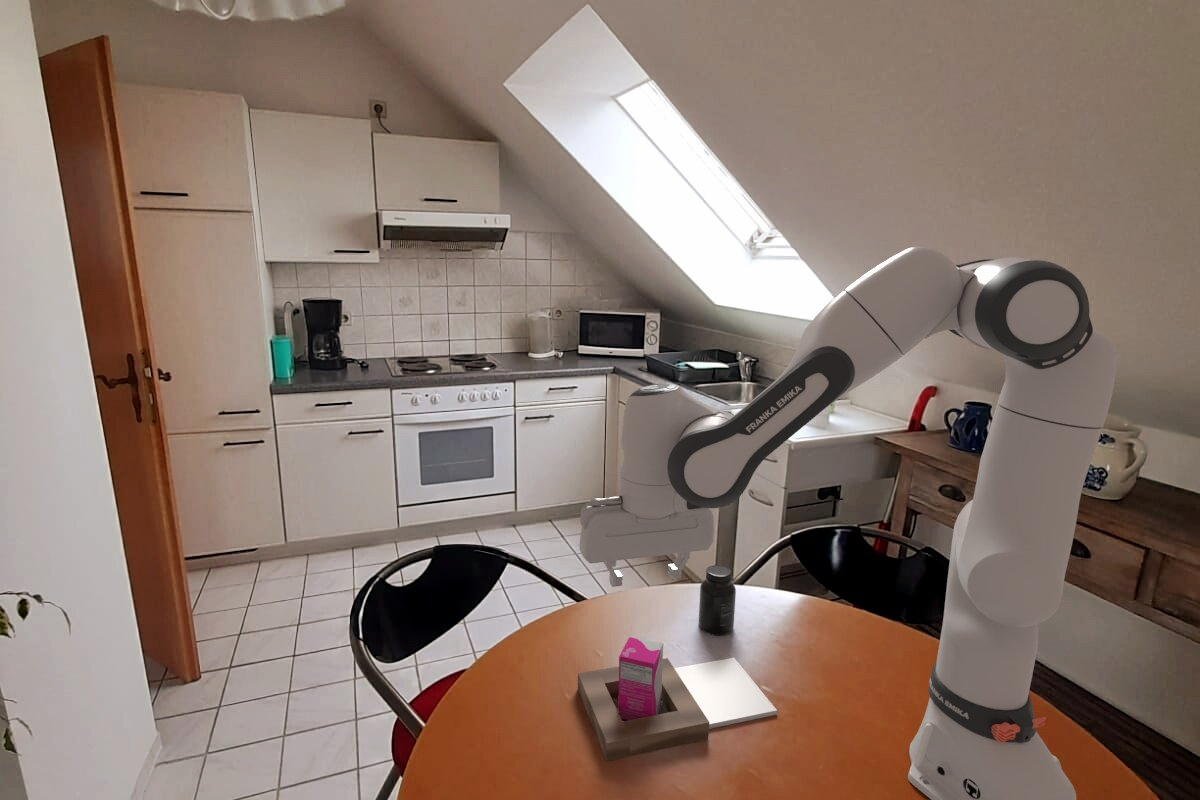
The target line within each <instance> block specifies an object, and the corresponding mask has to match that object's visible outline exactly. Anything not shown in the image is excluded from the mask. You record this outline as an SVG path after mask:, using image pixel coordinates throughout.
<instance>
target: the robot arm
mask: <svg viewBox="0 0 1200 800" xmlns="http://www.w3.org/2000/svg"><path fill="white" fill-rule="evenodd" d="M945 331H949V332H951V333H953V334H954V335H955V336H958V337H959V338H962V339H965V340H967V341H968V342H970V343H972V344H973V345H975V346H977V347H980V348H982V349H985V350H990V351H997V352H999V353H1000V354H1002V356H1003V358H1004V364H1005V374H1004V375H1005V376H1004V379H1005V380H1004V382H1003V385H1002V388H1001V391H1000V393H999V397H998V400H997V404H996V406H995V411H994V413H993V416H992V419H991V423H990V427H989V430H988V433H987V437H986V440H985V443H984V447H983V451H982V453H981V456H980V460H979V465H978V472H977V479H976V483H975V487H974V492H973V498H972V499H971V500H969V502H967V503H966V504H965V506H964V507H963V508H962V509H961V511H960V512H959V514H958V516H957V517H956V520H955V522H954V527H953V534H952V541H951V547H950V556H949V565H948V574H947V580H946V581H947V582H946V592H945V601H944V610H943V619H942V626H941V631H940V639H939V644H938V651H937V657H936V662H934V664H933V665H932V668H931V673H930V677H929V681H928V696H929V699H928V703H927V706H926V709H925V714H924V716H923V719H922V721H921V724H920V726H919V728H918V731H917V733H916V734H915V736H914V738H913V739H912V740H911V742H910V744H909V753H908V754H909V758H910V762H911V765H910V768H909V771H908V773H907V774H908V775H907V779H908V781H909V782H910V783H911V784H912V785H913V786H914V787H915V788H917V790H918V791H920V792H921V793H922V794H924V795H925V796H926V797H928V798H929V800H1077V793H1076V790H1075V788H1074V785H1073V784H1072V782H1071V781H1070V779H1069V778H1068V777H1067V774H1066V773H1065V772H1064V771H1063V769H1062V764H1061V762H1060V760H1059V758H1058V757H1057V756H1055V755H1053V754H1052V753H1051V751H1050V750H1049V749H1048V747H1047V746H1046V744H1045V742H1044V740H1043V739H1042V737H1040V734H1039V733H1038V732H1037V729H1038V728H1041V727H1043V726H1045V725H1046V722H1045V721H1046V720H1047V717H1046V716H1042V717H1038V718H1036V717H1035V714H1034V708H1033V705H1032V704H1033V703H1032V700H1031V696H1030V694H1029V693H1030V690H1031V689H1030V688H1031V683H1032V679H1033V673H1034V668H1035V662H1036V657H1037V653H1038V650H1039V648H1038V647H1039V624H1041V623H1044V622H1045V621H1047V620H1048V619H1050V618H1052V616H1054V614H1056V612H1057V611H1058V609H1059V608H1060V605H1061V603H1062V599H1063V592H1064V584H1065V577H1066V573H1067V568H1068V563H1069V560H1070V555H1071V550H1072V546H1073V541H1074V535H1075V530H1076V525H1077V519H1078V513H1079V507H1080V501H1081V496H1082V492H1083V487H1084V484H1085V480H1086V478H1087V474H1088V472H1089V469H1090V467H1091V463H1092V460H1093V457H1094V454H1095V452H1096V448H1097V446H1098V442H1099V440H1100V438H1101V434H1102V432H1103V428H1104V425H1105V423H1106V418H1107V416H1108V413H1109V409H1110V405H1111V401H1112V396H1113V391H1114V388H1115V383H1116V382H1115V381H1116V375H1117V374H1116V373H1117V362H1118V351H1117V347H1116V346H1115V343H1114V342H1113V341H1112V339H1110V338H1109V337H1108V336H1107V335H1105V334H1104V333H1102V332H1100V331H1099V330H1097V329H1094V328H1093V324H1092V320H1091V317H1090V302H1089V297H1088V294H1087V291H1086V288H1085V286H1084V285H1083V283H1082V282H1081V280H1080V279H1079V278H1078V277H1077V276H1076V275H1075V274H1074V273H1072V272H1071V271H1069V270H1068V269H1066V268H1065V267H1063V266H1061V265H1059V264H1056V263H1053V262H1050V261H1047V260H1039V259H1038V260H1036V259H1035V260H1034V259H1030V258H1026V257H1025V258H1024V257H1015V256H1013V257H1010V256H1009V257H1001V258H997V259H993V258H992V259H979V260H974V261H970V262H966V263H960V264H955V263H954V262H953V261H952V260H951V259H950V258H949V257H948V256H947V255H946V254H944V253H942V252H940V251H939V250H936V249H935V248H931V247H928V246H925V245H924V246H921V245H919V246H912V247H909V248H905V249H904V250H902V251H900V252H899V253H896V254H895V255H893V256H891V257H889V258H888V259H886V260H885V261H882V262H881V263H879V264H878V265H876V266H875V267H873V268H872V269H870V270H869V271H868V272H866V273H865V274H863V275H862V276H860V277H859V278H857V279H856V280H855V281H854V282H852V283H851V284H849V285H848V286H846V288H844V290H842V291H841V292H840V293H838V295H836V296H835V297H834V298H833V299H831V300H830V301H829V302H828V303H827V304H826V305H825V306H824V307H823V308H822V309H821V310H820V312H819V313H817V315H816V316H815V317H814V318H813V319H812V320H811V322H810V323H808V325H807V326H806V328H804V331H803V333H802V335H801V338H800V340H799V344H798V346H797V347H796V350H795V352H794V354H793V356H792V358H791V360H790V362H789V363H788V365H787V366H786V367H785V369H784V370H783V371H782V373H781V374H780V375H779V376H778V377H777V378H776V379H775V380H774V381H773V382H772V383H771V384H770V385H768V387H766V388H765V389H764V390H763V391H761V392H760V393H759V394H758V395H756V397H754V398H753V399H751V401H749V402H748V403H747V404H746V405H745V406H743V408H741V409H740V410H739V411H738V412H736V413H735V414H734V413H732V412H729V411H727V410H721V409H719V408H717V407H714V406H710V405H708V404H706V403H703V402H702V401H699V400H698V399H696V398H694V397H693V396H692V395H690V394H689V393H687V392H686V391H685V390H684V389H683V388H682V387H681V386H680V385H677V384H673V383H655V384H650V385H647V386H642V387H640V388H638V389H636V390H635V391H633V392H632V393H631V394H630V395H629V396H628V398H627V399H626V402H625V407H624V411H623V417H622V418H623V419H622V428H621V451H622V453H623V459H622V460H623V461H622V464H621V468H620V470H619V471H620V472H619V473H620V475H619V496H610V497H609V496H608V497H604V498H597V497H596V498H592V499H590V501H589V502H586V503H584V505H582V507H581V509H580V515H579V516H580V517H579V519H580V525H581V530H580V538H579V551H580V554H581V556H582V557H583V558H584V560H585V561H586V562H587V563H588V564H599V563H603V564H604V566H605V567H606V569H607V571H608V573H609V580H608V581H609V585H611V587H612V588H615V587H621V586H623V580H624V579H623V578H624V577H623V574H622V573H621V571H620V570H615V569H614V568H615V567H616V566H617V561H625V560H631V559H633V560H634V559H641V558H642V559H643V558H650V557H659V556H669V555H675V554H677V556H676V557H675V559H674V561H673V563H669V564H668V565H667V566H668V567H667V569H668V570H667V574H668V577H669V578H670V580H676V579H681V578H682V571H683V569H684V567H685V565H686V564H687V562H688V561H689V559H690V557H691V553H694V552H701V551H702V552H703V551H708V550H709V549H710V548H711V547H712V546H713V544H714V537H715V520H714V515H713V512H712V510H711V509H720V508H723V507H727V506H729V505H730V504H732V503H734V502H735V501H736V500H737V499H739V498H740V496H742V495H743V494H744V491H745V490H746V489H747V487H748V485H749V483H750V481H751V479H752V478H753V476H754V473H755V472H756V471H757V469H758V467H759V466H760V465H761V464H762V462H763V461H764V460H765V459H766V458H767V457H769V456H770V455H771V454H772V453H773V452H774V451H776V450H777V449H778V448H779V447H780V446H782V444H784V443H785V442H787V440H789V439H790V438H791V437H792V436H794V435H795V434H796V433H798V431H800V430H802V428H804V426H806V425H807V424H808V423H809V422H811V421H812V420H813V419H815V417H817V416H818V415H819V414H820V413H821V412H822V411H824V410H825V409H826V408H827V407H829V406H831V405H832V404H833V403H836V401H838V400H839V399H841V398H843V397H844V396H845V395H846V394H848V393H850V392H851V391H853V390H855V389H856V388H857V387H859V386H861V385H862V384H864V383H865V382H867V381H869V380H870V379H872V378H874V377H875V376H876V375H878V374H880V373H881V372H883V371H884V370H886V369H887V368H888V367H890V366H891V365H893V364H894V363H895V362H897V361H898V360H899V359H901V358H902V357H903V356H905V355H906V354H908V352H910V351H911V350H912V349H914V348H915V347H916V346H917V345H919V344H921V342H922V341H923V340H925V339H928V338H930V337H932V336H934V335H935V334H938V333H941V332H945ZM613 567H614V568H613Z"/></svg>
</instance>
